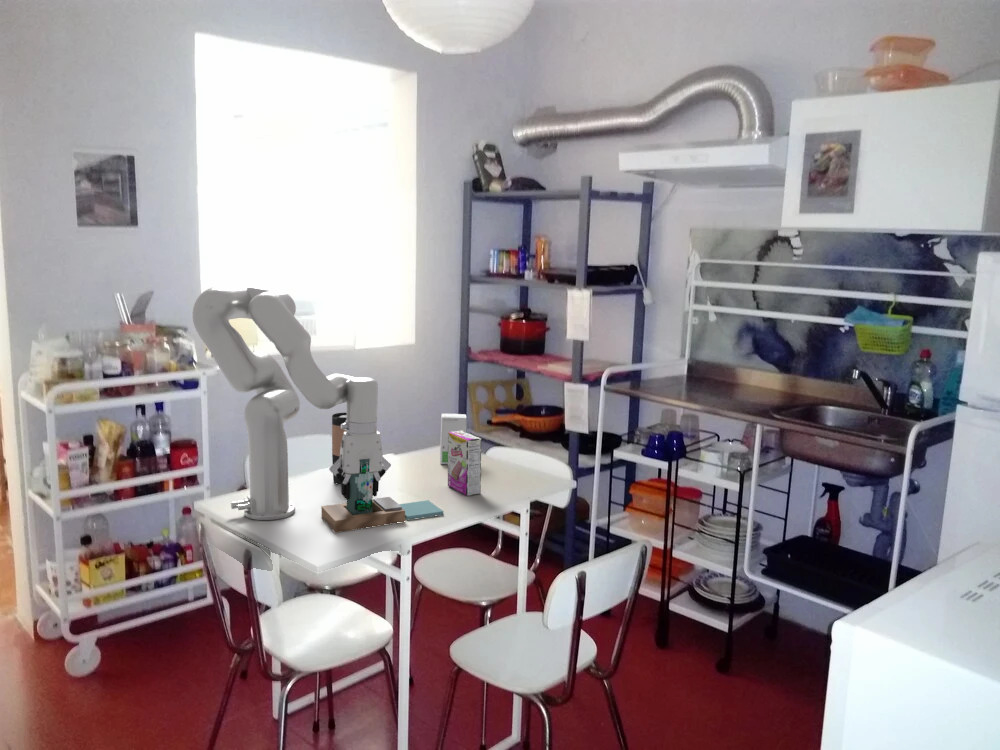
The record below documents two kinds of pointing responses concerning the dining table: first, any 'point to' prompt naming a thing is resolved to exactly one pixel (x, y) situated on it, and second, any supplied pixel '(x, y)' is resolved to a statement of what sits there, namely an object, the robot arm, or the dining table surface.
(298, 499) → the dining table surface
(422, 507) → the rubber mat
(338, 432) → the travel mug
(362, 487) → the can
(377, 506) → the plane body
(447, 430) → the skincare box
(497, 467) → the dining table surface
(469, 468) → the candy bar box
